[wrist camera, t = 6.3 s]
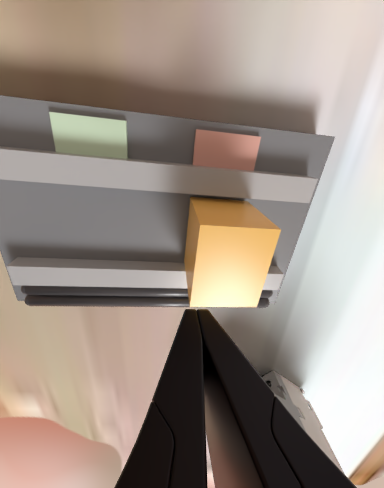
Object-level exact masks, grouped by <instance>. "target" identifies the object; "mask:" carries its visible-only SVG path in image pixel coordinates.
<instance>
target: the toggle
mask: <svg viewBox="0 0 384 488" xmlns="http://www.w3.org/2000/svg"><path fill="white" fill-rule="evenodd" d="M280 232H281V229H280V228H279V227H277V226H276V225H275V224H274V223H273V222H272V221H270V220H269V219H268V218H267V217H266V216H264V215H263V214H262V213H261V212H260V211H259V210H257V209H256V208H255V207H254V206H253V205H252V204H250V203H249V202H248V201H240V200H226V199H213V198H200V197H190V207H189V217H188V227H187V237H186V247H185V257H184V263H185V271H186V280H187V288H188V296H189V305H190V307H257V305H258V302H259V299H260V296H261V292H262V289H263V286H264V283H265V280H266V276H267V273H268V270H269V267H270V264H271V261H272V257H273V254H274V251H275V248H276V245H277V241H278V238H279V235H280Z"/></svg>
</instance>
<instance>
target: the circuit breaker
mask: <svg viewBox="0 0 384 488" xmlns="http://www.w3.org/2000/svg"><path fill="white" fill-rule="evenodd" d="M262 379H263V380H264V381H265V382H266V384H267V385H268V386H269V387H270V389H271V390H272V391H273V392H274V394H275V396H277V397H278V399H279V400H280V401H281V402H282V404H283V405H284V406H285V407H286V409H287V410H288V411H289V412H290V414H291V415H292V416H293V417H294V418H295V420H296V421H297V422H298V423H299V424H300V426H301V427H302V428H303V429H304V430H305V432H306V433H307V434H308V435H309V436H310V437H311V438H312V439H313V440H314V442H315V443H316V444H317V445H318V446H319V447H320V448H321V449H322V451H323V452H324V453H325V454H326V455H327V456H328V457H329V458H330V459H331V460H332V461H333V463H334V464H335V465H336V466H337V467H338V468H339V469H340V470H341V471H342V472H343V470H342V468H341V466H340V464H339V462H338V461H337V459H336V457H335V455H334V453H333V451H332V449H331V447H330V445H329V443H328V441H327V439H326V437H325V435H324V433H323V432H322V430H321V429H322V428H323V427H322V425H321V423H320V421H319V419H318V417H317V416H316V414H315V412H314V410H313V408H312V406H311V404H310V402H309V401H307V400H306V399H305V398H304V396H303V394H304V391H303V390H302V389H301V390H300V389H299V387H298V386H296V385H295V384H293V383H292V382H290V381H289V380H287V379H286V378H284V377H283V376H281V375H280V374H279V373H277V372H276V371H274V370H273V371H271V372H269V373H268V374H266V375H264V376H263V377H262ZM269 381H271V382H270V383H268V382H269ZM275 396H274V397H275ZM309 407H310V408H309ZM343 473H344V472H343Z"/></svg>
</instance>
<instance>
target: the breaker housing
mask: <svg viewBox="0 0 384 488" xmlns="http://www.w3.org/2000/svg"><path fill="white" fill-rule="evenodd" d="M334 138H335V137H332V136H324V135H316V134H308V133H300V132H292V131H284V130H276V129H268V128H260V127H252V126H244V125H236V124H228V123H220V122H212V121H203V120H195V119H187V118H179V117H171V116H163V115H155V114H147V113H139V112H131V111H123V110H115V109H107V108H99V107H91V106H82V105H74V104H66V103H58V102H50V101H42V100H34V99H26V98H18V97H10V96H2V95H0V251H1V254H2V257H3V260H4V263H5V266H6V269H7V271H8V274H9V277H10V280H11V283H12V286H13V289H14V292H15V294H16V297H17V300H18V301H25V303H26V304H27V305H29V306H104V307H190V305H189V296H188V288H187V280H186V271H185V263H184V257H185V247H186V237H187V227H188V217H189V207H190V197H200V198H213V199H226V200H240V201H248V202H249V203H250V204H252V205H253V206H254V207H255V208H256V209H257V210H259V211H260V212H261V213H262V214H263V215H264V216H266V217H267V218H268V219H269V220H270V221H272V222H273V223H274V224H275V225H276V226H277V227H279V228H280V229H281V232H280V235H279V238H278V241H277V245H276V248H275V251H274V254H273V257H272V261H271V264H270V267H269V270H268V273H267V276H266V280H265V283H264V286H263V289H262V292H261V296H260V299H259V302H258V305H257V307H245V308H265V307H268V305H269V303H275V302H276V299H277V296H278V294H279V291H280V288H281V285H282V282H283V280H284V277H285V274H286V271H287V269H288V266H289V263H290V260H291V257H292V255H293V252H294V249H295V246H296V244H297V241H298V238H299V235H300V233H301V230H302V227H303V224H304V221H305V219H306V216H307V213H308V210H309V208H310V205H311V202H312V199H313V197H314V194H315V191H316V188H317V185H318V183H319V180H320V177H321V174H322V172H323V169H324V166H325V163H326V161H327V158H328V155H329V152H330V149H331V147H332V144H333V141H334Z"/></svg>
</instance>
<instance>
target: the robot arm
mask: <svg viewBox="0 0 384 488" xmlns="http://www.w3.org/2000/svg"><path fill="white" fill-rule="evenodd" d="M274 396H275V394H274V392H273V391H272V390H271V389H270V387H269V386H268V385H267V384H266V382H265V381H264V380H263V379H262V377H261V376H260V375H259V374H258V372H257V371H256V370H255V368H254V367H253V366H252V365H251V363H250V362H249V361H248V360H247V358H246V357H245V356H244V355H243V353H242V352H241V351H240V350H239V348H238V347H237V346H236V345H235V343H234V342H233V341H232V339H231V338H230V337H229V336H228V334H227V333H226V332H225V331H224V329H223V328H222V327H221V326H220V324H219V323H218V322H217V321H216V319H215V318H214V317H213V316H212V314H211V313H210V312H209V311H208V310H207V309H198V310H197V311H196V310H195V309H186V310H185V311H184V314H183V317H182V319H181V322H180V325H179V328H178V330H177V333H176V336H175V339H174V341H173V344H172V347H171V350H170V352H169V355H168V358H167V361H166V363H165V366H164V369H163V371H162V374H161V377H160V380H159V382H158V385H157V388H156V391H155V393H154V396H153V399H152V402H151V404H150V407H149V409H148V412H147V415H146V418H145V420H144V423H143V425H142V428H141V430H140V433H139V435H138V438H137V440H136V443H135V445H134V447H133V449H132V451H131V454H130V456H129V458H128V460H127V462H126V464H125V467H124V469H123V471H122V473H121V475H120V477H119V479H118V481H117V484H116V485H115V488H207V460H206V435H207V441H208V447H209V453H210V459H211V465H212V471H213V477H214V483H215V488H357V487H356V486H355V485H354V484H353V483H352V482H351V481H350V480H349V479H348V478H347V477H346V476H345V474H344V473H343V472H342V471H341V470H340V469H339V468H338V467H337V466H336V465H335V464H334V463H333V461H332V460H331V459H330V458H329V457H328V456H327V455H326V454H325V453H324V452H323V451H322V449H321V448H320V447H319V446H318V445H317V444H316V443H315V442H314V440H313V439H312V438H311V437H310V436H309V435H308V434H307V433H306V432H305V430H304V429H303V428H302V427H301V426H300V424H299V423H298V422H297V421H296V420H295V418H294V417H293V416H292V415H291V414H290V412H289V411H288V410H287V409H286V407H285V406H284V405H283V404H282V402H281V401H280V400H279V399H278V397H277V396H275V397H274Z"/></svg>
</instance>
